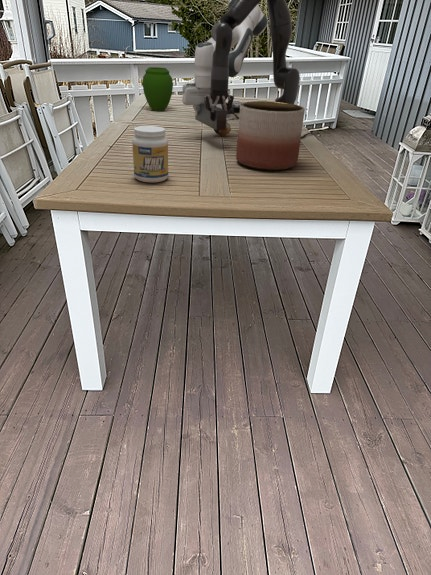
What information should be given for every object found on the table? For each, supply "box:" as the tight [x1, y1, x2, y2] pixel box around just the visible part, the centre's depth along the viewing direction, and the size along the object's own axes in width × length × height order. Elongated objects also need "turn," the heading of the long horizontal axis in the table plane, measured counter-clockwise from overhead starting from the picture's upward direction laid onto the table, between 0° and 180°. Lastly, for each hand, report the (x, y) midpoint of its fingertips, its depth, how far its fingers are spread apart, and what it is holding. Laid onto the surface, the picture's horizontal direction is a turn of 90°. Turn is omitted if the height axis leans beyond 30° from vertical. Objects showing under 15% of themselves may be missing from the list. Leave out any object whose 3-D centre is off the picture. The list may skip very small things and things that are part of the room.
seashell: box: [213, 120, 232, 136], centre depth 209 cm, size 10×6×8 cm, turn 97°
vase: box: [141, 66, 174, 112], centre depth 261 cm, size 20×20×24 cm
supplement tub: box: [131, 125, 169, 183], centre depth 142 cm, size 12×12×17 cm
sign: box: [226, 100, 244, 114], centre depth 286 cm, size 19×3×30 cm
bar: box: [194, 104, 227, 130], centre depth 190 cm, size 26×5×8 cm, turn 24°
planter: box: [235, 100, 306, 171], centre depth 164 cm, size 25×25×22 cm
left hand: (202, 114), depth 197 cm, fingers closed on bar, 5 cm apart
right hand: (218, 120), depth 183 cm, fingers closed on bar, 4 cm apart
